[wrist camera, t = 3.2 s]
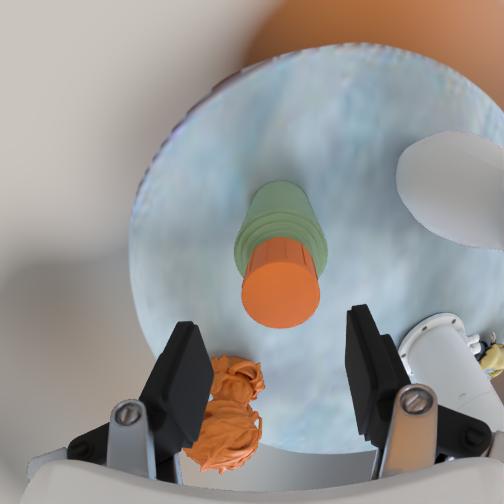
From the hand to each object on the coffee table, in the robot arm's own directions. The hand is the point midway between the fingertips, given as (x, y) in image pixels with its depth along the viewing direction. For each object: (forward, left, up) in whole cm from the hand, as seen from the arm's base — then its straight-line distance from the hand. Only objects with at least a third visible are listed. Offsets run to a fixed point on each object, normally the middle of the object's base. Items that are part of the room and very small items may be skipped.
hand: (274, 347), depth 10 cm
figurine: (-36, +30, -23) cm, 52 cm away
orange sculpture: (+10, +24, -23) cm, 35 cm away
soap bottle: (-20, -2, -23) cm, 30 cm away
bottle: (0, 0, -22) cm, 22 cm away
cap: (0, 0, -7) cm, 7 cm away
